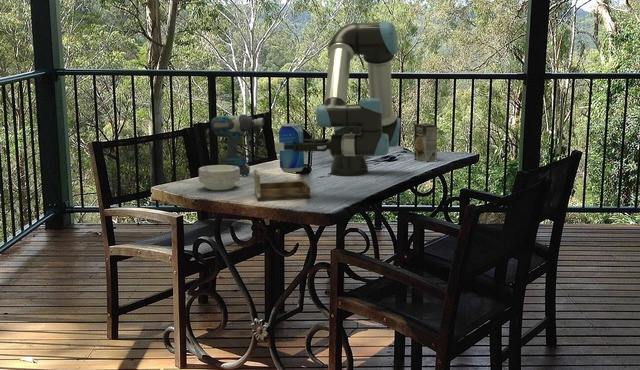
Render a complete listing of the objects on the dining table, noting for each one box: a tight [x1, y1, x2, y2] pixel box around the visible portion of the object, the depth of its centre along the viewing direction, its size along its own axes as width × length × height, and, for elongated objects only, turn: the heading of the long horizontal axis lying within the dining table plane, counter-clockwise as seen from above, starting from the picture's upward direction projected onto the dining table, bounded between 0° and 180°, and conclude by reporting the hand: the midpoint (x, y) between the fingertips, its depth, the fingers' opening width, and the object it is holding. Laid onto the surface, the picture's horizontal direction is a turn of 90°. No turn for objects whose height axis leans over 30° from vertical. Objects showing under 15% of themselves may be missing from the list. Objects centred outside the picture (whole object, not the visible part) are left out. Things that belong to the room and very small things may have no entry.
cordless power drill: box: [210, 113, 265, 177], centre depth 320 cm, size 8×23×25 cm, turn 78°
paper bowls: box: [198, 164, 241, 191], centre depth 293 cm, size 15×15×8 cm
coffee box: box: [413, 123, 438, 162], centre depth 348 cm, size 9×6×16 cm
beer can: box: [278, 123, 305, 173], centre depth 271 cm, size 8×8×16 cm
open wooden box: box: [253, 168, 311, 202], centre depth 274 cm, size 18×14×9 cm
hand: (278, 145), depth 272 cm, fingers closed on beer can, 7 cm apart
